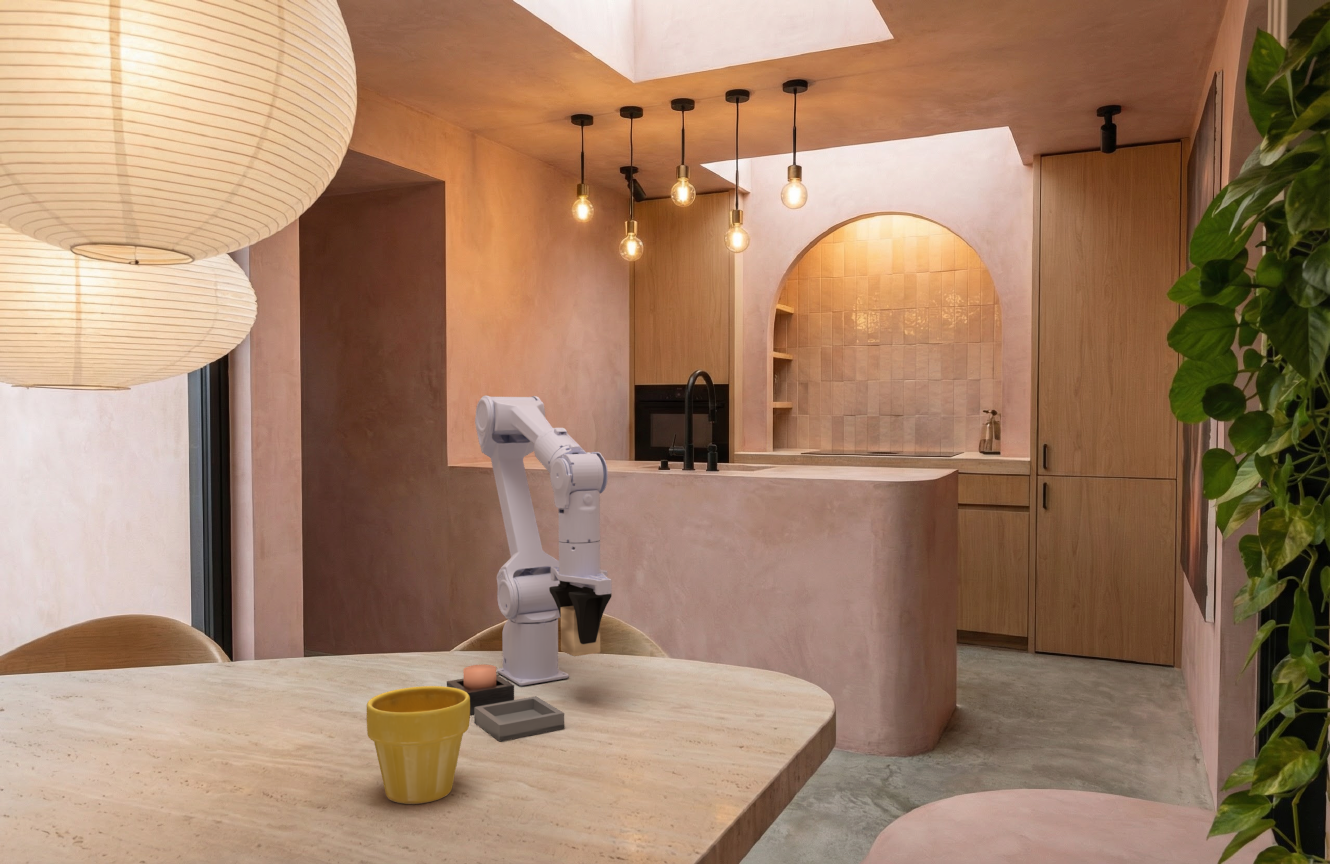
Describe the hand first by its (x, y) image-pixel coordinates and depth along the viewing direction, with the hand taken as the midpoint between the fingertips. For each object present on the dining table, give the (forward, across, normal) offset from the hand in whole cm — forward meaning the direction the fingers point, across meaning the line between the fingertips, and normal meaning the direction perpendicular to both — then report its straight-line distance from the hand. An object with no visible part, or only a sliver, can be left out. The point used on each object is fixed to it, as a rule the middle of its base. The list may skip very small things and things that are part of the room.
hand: (580, 639), depth 126 cm
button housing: (+9, +6, +12) cm, 16 cm away
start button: (+7, +6, +12) cm, 15 cm away
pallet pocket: (+9, -4, +11) cm, 15 cm away
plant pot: (+9, -18, +28) cm, 35 cm away
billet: (+2, 0, 0) cm, 2 cm away
